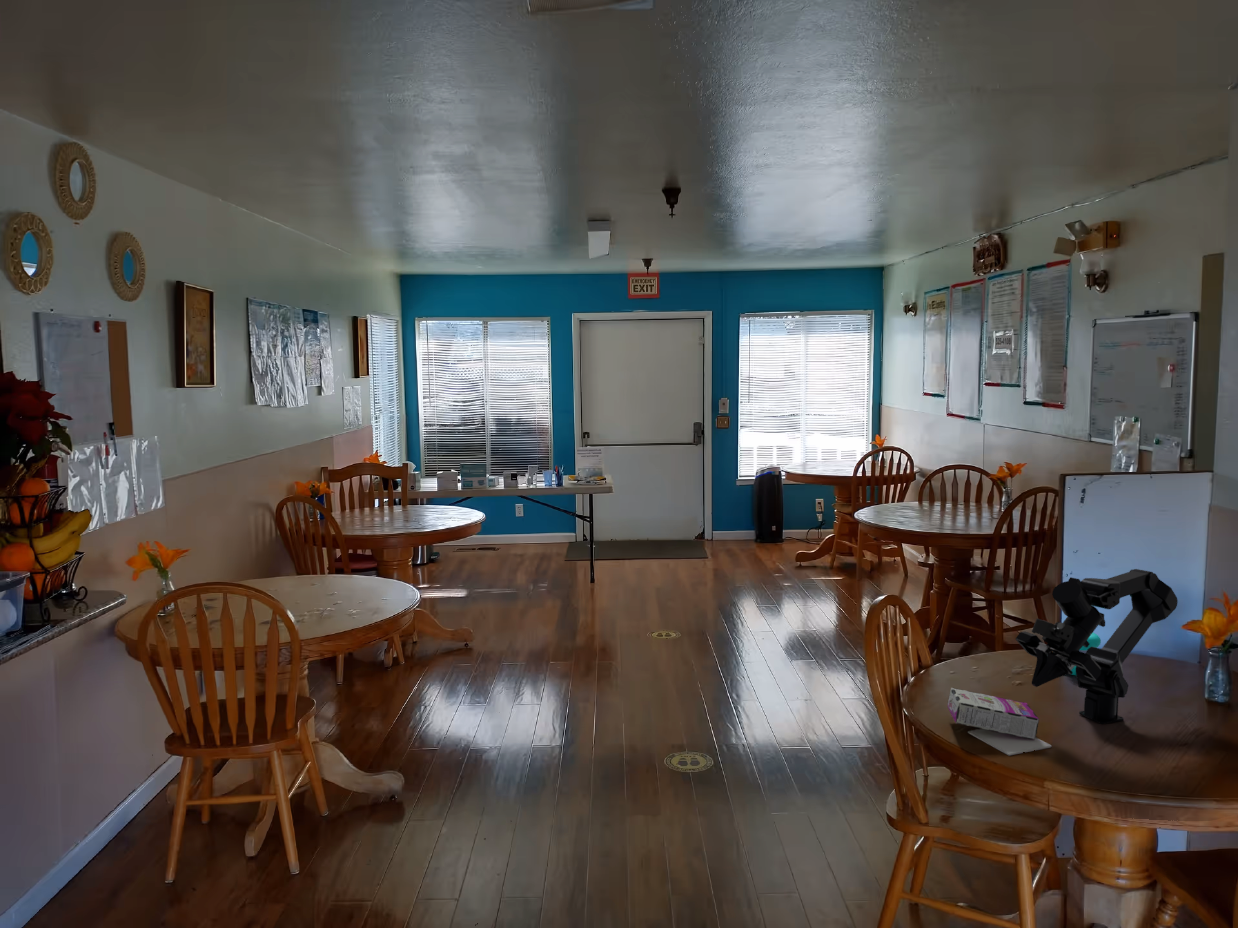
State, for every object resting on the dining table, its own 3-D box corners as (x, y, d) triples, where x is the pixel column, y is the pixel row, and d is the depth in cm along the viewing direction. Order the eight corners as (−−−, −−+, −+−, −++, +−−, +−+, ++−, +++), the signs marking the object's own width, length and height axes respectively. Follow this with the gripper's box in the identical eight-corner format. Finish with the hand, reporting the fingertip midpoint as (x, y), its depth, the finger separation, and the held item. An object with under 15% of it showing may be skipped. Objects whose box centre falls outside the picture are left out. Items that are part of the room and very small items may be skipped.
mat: (1008, 725, 198) (1008, 723, 198) (1051, 747, 187) (1051, 745, 187) (968, 732, 195) (968, 731, 194) (1008, 755, 183) (1008, 753, 183)
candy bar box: (1023, 724, 199) (946, 707, 203) (1027, 702, 199) (950, 685, 202) (1035, 741, 188) (954, 723, 192) (1040, 719, 188) (958, 701, 191)
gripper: (1023, 595, 200) (981, 649, 197) (1093, 617, 182) (1048, 676, 180) (1050, 626, 203) (1009, 679, 201) (1120, 650, 186) (1076, 709, 183)
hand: (1033, 685), depth 191 cm, fingers closed
